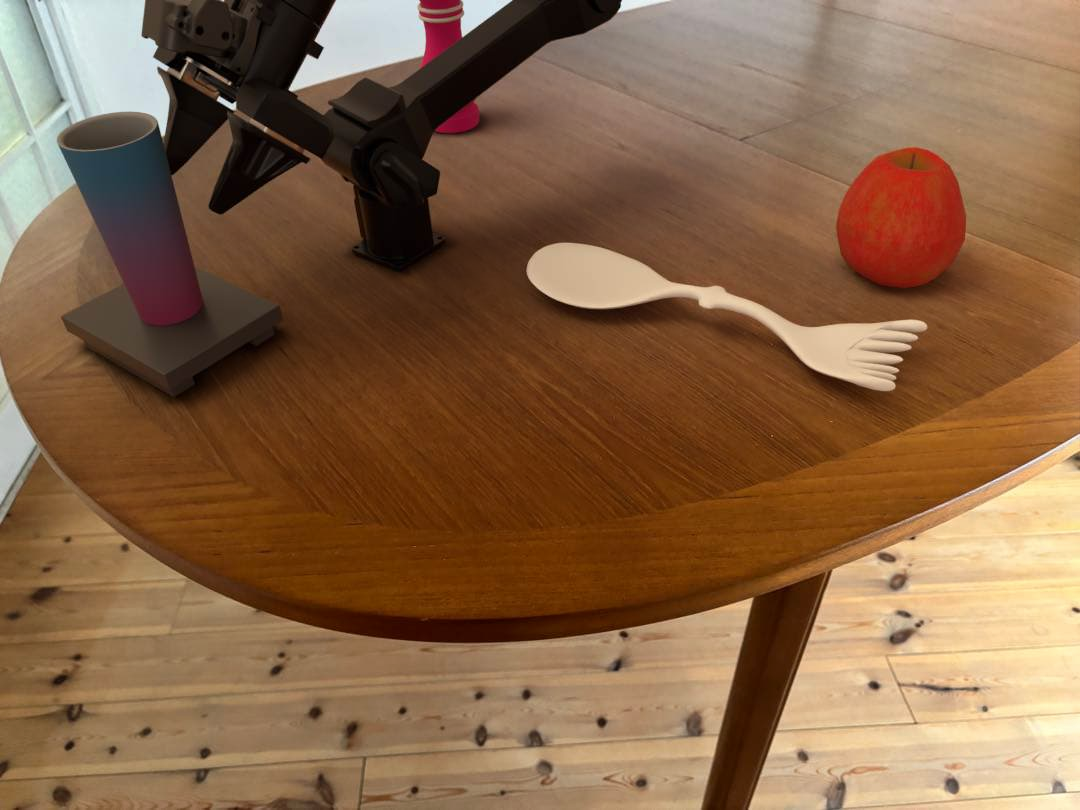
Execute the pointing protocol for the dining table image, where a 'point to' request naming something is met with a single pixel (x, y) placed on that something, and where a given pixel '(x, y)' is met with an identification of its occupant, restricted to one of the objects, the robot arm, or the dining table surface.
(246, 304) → the grey footed tile
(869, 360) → the spoon
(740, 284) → the dining table surface
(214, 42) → the robot arm
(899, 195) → the apple
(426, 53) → the pepper mill
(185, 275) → the cup
